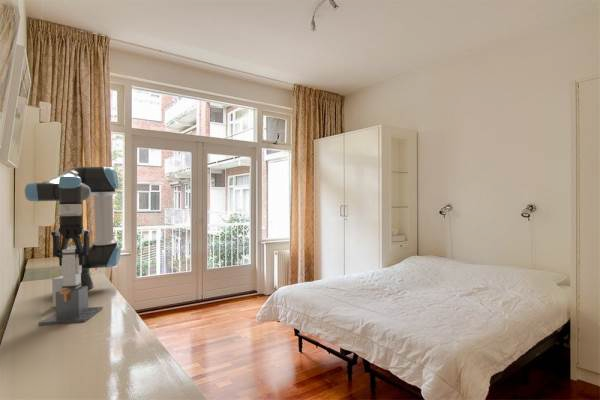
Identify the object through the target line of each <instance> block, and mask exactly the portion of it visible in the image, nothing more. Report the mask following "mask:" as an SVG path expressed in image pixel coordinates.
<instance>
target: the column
mask: <svg viewBox="0 0 600 400" xmlns="http://www.w3.org/2000/svg"><path fill="white" fill-rule="evenodd" d="M61 255H63V275H62V276H63V286H62V288H63V290H65V289H71V290H78V289H80V288H81V285H82V283H81V273H80V274H77V271H76V258H77V257H78V253H77V249H76V248H67V249H63V250H62V253H61Z"/></svg>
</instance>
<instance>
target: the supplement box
mask: <svg viewBox="0 0 600 400" xmlns="http://www.w3.org/2000/svg"><path fill="white" fill-rule="evenodd" d="M51 279H52V280H51V281H52V282H51V283H52V307H53V308H56V292H57V291H59V290H61V289H63V288H62V286H63V275H60V276H57V277H54V278H51Z"/></svg>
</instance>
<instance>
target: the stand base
mask: <svg viewBox="0 0 600 400" xmlns="http://www.w3.org/2000/svg"><path fill="white" fill-rule="evenodd" d="M88 291H89V289H88V286H81V288H80V289H78V290H71V289H65V290H63V289H61V290H59V291H57V292H56V307H55V312H54V313H52V314H50V315H49V316H47V317H45V318H44V319H43V320H41V321H39V322H38V326H46V325H47V326H49V325H60V324H61V325H62V324H74V323H76V324H77V323H86V322H88V321H89V320H90V319H91V318H93V317H94V316H95V315H97V314H98V313H99V312H100V311H102V310H103V306H93V307H92V306H90V307H89V297H88V296H89V294H88V293H89V292H88Z"/></svg>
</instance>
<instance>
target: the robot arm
mask: <svg viewBox="0 0 600 400" xmlns="http://www.w3.org/2000/svg"><path fill="white" fill-rule="evenodd" d="M118 177H119V176H118V173H117V171H116V170H115V168H114V167H111V166H110V167H109V166H77V167H73V168H71V169H66V170H64V171H62V172H61V173H59V174H58V175H57V176H55V177H53V178H50V179H48V180H45V181H42V182H30V183H27V184H26V185H25V187H24V195H25V196H24V197H25V198H26V200H27V201H29V202H37V203H38V202H56V201H57V202H59V203H58V204H59V205H58V207H59V209H58V210H59V215H61V216H59V228H58V230H55V231H51V232H50V234H51V237H52V246H53V247H52V251H53V252H52V253H53V255H52V256H53V257H54V258H55V257H56V258H58V260H59V264H58V265H59V266H60V267H61V276H63V255H61V253H62V250H63V249H67V248H76V249H77V253H78V257H77V258H76V271H77V274H80V273H81V283H82V285H81V286H88V290H91V289H93V288H94V282H93V279H92V277H91V274H90V269H100V268H101V269H102V268H107V269H108V268H114V267H117V265H118V264H119V262H120V258H121V251H122V249H121V245H120V244H118V242H117V240H115V238H114V217H113V215H114V214H113V195H114V194H115V193H116V189H118V188H119V178H118ZM91 195H92V196H93V214H94V238H95V240H94V241H93V242H92V244H91V246H90V234H91V232H92V231H91V230H90V229H89V230H88V229H84V227H83V216H82V215H83V205H82V204H83V201H85V200H88V199H89V198H90V196H91ZM81 234H82V235H83V236H82V241H81ZM60 236H62V238H60ZM60 239H61V241H60ZM70 239H72V240H73V242H74V245H73V246H69V245H68V244H69V241H70ZM60 242H61V243H60Z"/></svg>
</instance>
